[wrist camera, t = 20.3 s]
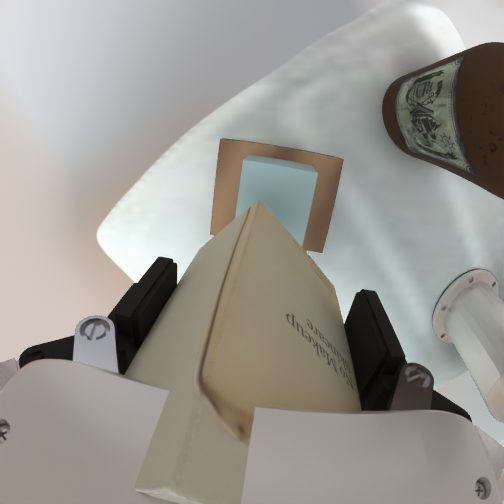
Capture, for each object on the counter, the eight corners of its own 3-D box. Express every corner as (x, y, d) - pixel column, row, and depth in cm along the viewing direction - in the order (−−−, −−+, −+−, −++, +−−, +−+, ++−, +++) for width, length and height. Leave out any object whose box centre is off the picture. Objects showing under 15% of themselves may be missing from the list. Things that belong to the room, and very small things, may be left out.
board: (340, 158, 27) (343, 159, 26) (320, 247, 31) (322, 252, 30) (223, 138, 27) (220, 139, 26) (213, 229, 32) (210, 234, 30)
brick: (311, 165, 26) (318, 173, 22) (295, 240, 30) (298, 262, 25) (249, 154, 26) (243, 159, 22) (238, 231, 30) (230, 250, 25)
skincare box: (335, 285, 15) (391, 529, 4) (270, 328, 16) (256, 548, 5) (256, 193, 13) (176, 500, 2) (190, 251, 14) (63, 485, 3)
